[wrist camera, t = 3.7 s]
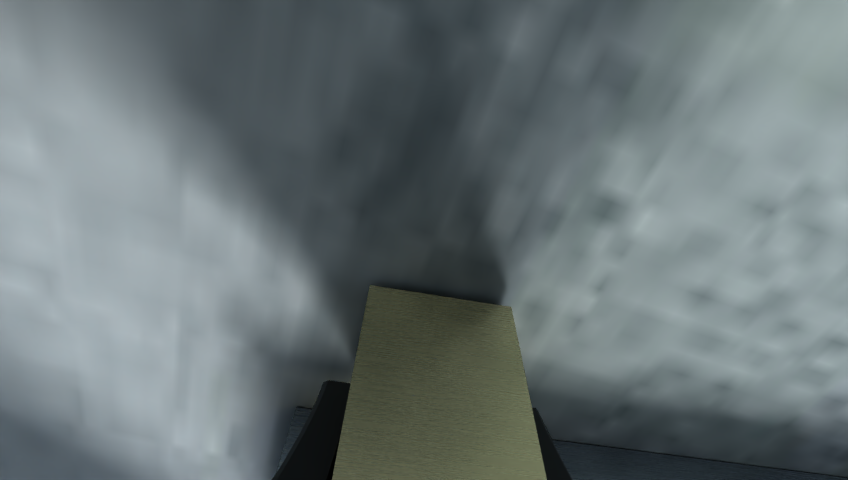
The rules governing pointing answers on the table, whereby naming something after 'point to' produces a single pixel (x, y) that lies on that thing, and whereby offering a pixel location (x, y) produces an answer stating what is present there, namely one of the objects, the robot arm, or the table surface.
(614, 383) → the table surface
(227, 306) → the table surface
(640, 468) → the grey block holder
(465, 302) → the brass block
